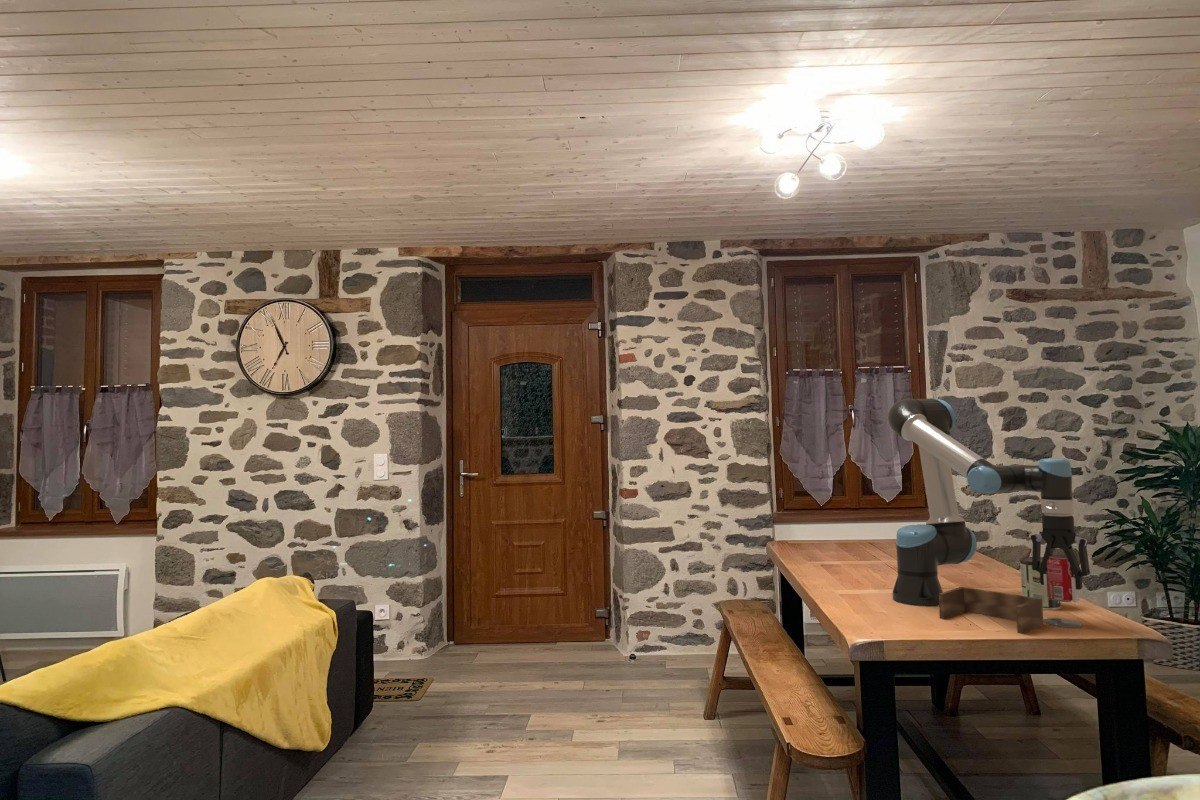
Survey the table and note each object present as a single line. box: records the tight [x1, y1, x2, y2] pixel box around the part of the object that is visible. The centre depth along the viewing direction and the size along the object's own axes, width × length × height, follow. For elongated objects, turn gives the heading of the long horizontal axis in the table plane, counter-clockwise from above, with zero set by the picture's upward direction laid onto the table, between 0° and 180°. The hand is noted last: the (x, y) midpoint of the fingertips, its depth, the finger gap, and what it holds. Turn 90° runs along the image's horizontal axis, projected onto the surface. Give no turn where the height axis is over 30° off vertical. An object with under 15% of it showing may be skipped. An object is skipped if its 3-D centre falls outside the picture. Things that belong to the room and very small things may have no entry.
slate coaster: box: [1043, 617, 1083, 629], centre depth 203 cm, size 9×9×1 cm
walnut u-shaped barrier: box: [938, 586, 1044, 635], centre depth 207 cm, size 22×14×7 cm, turn 39°
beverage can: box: [1047, 554, 1074, 603], centre depth 203 cm, size 6×6×12 cm
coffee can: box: [1019, 556, 1062, 611], centre depth 224 cm, size 10×10×14 cm
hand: (1061, 599), depth 203 cm, fingers closed on beverage can, 6 cm apart
